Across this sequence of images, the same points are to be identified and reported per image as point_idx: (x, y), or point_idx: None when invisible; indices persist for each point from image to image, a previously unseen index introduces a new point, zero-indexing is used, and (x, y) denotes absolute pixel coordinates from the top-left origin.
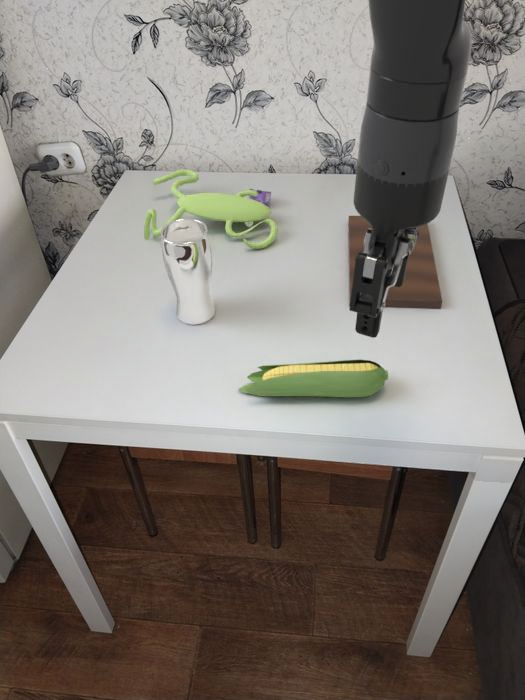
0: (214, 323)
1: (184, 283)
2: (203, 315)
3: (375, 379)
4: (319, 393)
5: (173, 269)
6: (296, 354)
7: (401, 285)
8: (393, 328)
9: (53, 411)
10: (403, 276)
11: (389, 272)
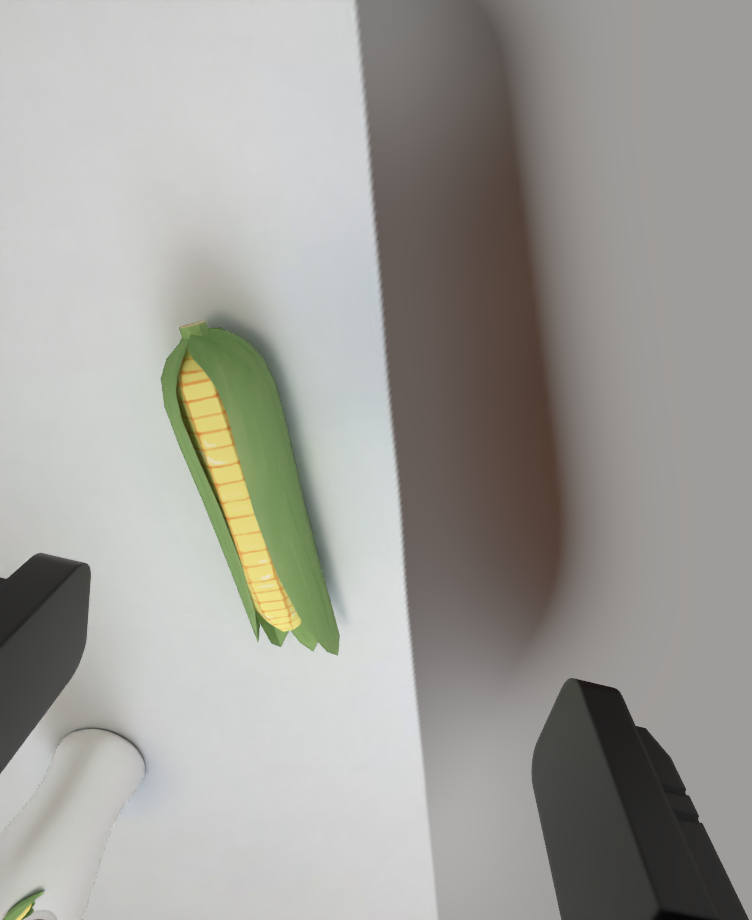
0: (122, 722)
1: (87, 887)
2: (117, 758)
3: (233, 363)
4: (299, 492)
5: None
6: (160, 545)
7: (82, 566)
8: None
9: (431, 904)
10: (35, 609)
11: (32, 698)
